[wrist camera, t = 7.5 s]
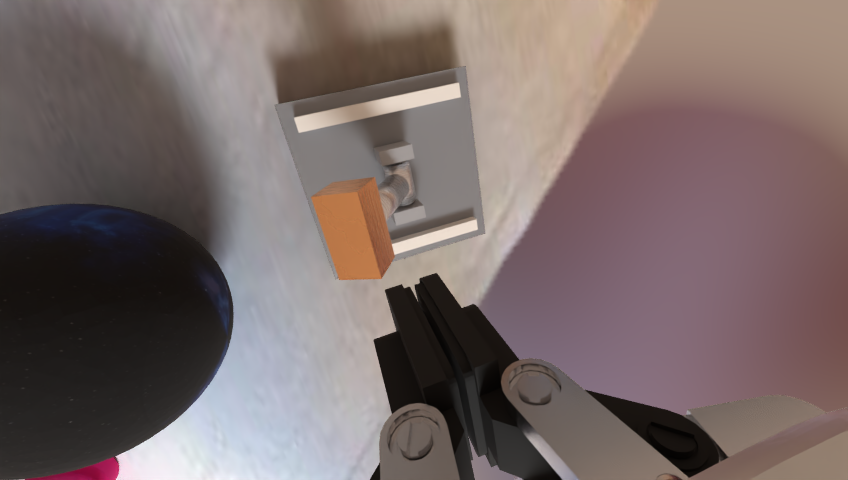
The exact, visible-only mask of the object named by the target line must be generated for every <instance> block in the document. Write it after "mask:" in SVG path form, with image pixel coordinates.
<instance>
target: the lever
mask: <svg viewBox="0 0 848 480" xmlns="http://www.w3.org/2000/svg"><path fill="white" fill-rule="evenodd" d="M383 170H384V174H385V179H384V180H383V181H382V182H381V183H380V184H379V185H378V186H377V183H376V179H375V177H370V178H362V179H354V180H346V181H338V182H332V183H331V184H329V185H328V186H326V187H325V188H323V189H322V190H320V191H319V192H317V193H316V194H314V195H313V196H311V199H312V202H313V205H314V208H315V211H316V214H317V216H318V219H319V222H320V225H321V228H322V231H323V234H324V237H325V240H326V243H327V246H328V248H329V251H330V254H331V257H332V260H333V263H334V266H335V269H336V272H337V275H338V277H339V280H354V279H382V277H383V275H384V274H385V272H386V271H387V269H388V267H389V266H390V264H391V262H392V261H393V259H394V258H395V255H394V251H393V247H392V243H391V239H390V235H389V231H388V227H387V223H386V221H387V220H388V219H389V218H390V216H391V215H392V214H393V213H394V211H395V210H396V209H397V208H398V206H405V205H409V204H412V203H414V202H415V201H416V200H417V197H416V192H415V188H414V183H413V178H412V173H411V168H410V163H409V160H406V161H402V162H398V163H394V164H390V165H386V166H383Z"/></svg>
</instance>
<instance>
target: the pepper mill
mask: <svg viewBox="0 0 848 480" xmlns="http://www.w3.org/2000/svg"><path fill="white" fill-rule="evenodd" d="M118 473H119V465H118V462H117V461H116V460H115V459H114V457H112V458H110V459H107V460H105V461H102V462H99V463H97V464H94V465H91V466H88V467H84V468H81V469H78V470H74V471H70V472H66V473H62V474H57V475H51V476H46V477H40V478H31V479H25V480H116V478H117V476H118Z"/></svg>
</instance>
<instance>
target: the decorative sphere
mask: <svg viewBox="0 0 848 480" xmlns="http://www.w3.org/2000/svg"><path fill="white" fill-rule="evenodd" d="M232 329H233V302H232V296H231V292H230V289H229V285H228V283H227V280H226V278H225V276H224V274H223V272H222V270H221V268H220V267H219V265H218V264H217V262H216V261H215V260H214V258H213V257H212V256H211V254H210V253H209V252H208V251H207V250H206V249H205V248H204V247H203V246H202V245H201V244H200V243H199V242H197V241H196V240H195V239H194V238H192V237H191V236H190V235H188V234H187V233H185V232H184V231H182V230H180V229H179V228H177V227H175V226H173V225H171V224H169V223H167V222H165V221H163V220H161V219H158V218H156V217H153V216H150V215H147V214H144V213H140V212H137V211H133V210H129V209H124V208H119V207H113V206H106V205H95V204H60V205H49V206H40V207H34V208H28V209H22V210H17V211H13V212H9V213H5V214H1V215H0V480H19V479H31V478H40V477H46V476H51V475H57V474H62V473H66V472H70V471H74V470H78V469H81V468H84V467H88V466H91V465H94V464H97V463H99V462H102V461H105V460H107V459H110V458H112V457H115V456H117V455H119V454H121V453H123V452H125V451H128V450H130V449H132V448H134V447H135V446H137V445H139V444H141V443H142V442H144V441H146V440H148V439H149V438H151V437H152V436H154V435H155V434H157V433H158V432H160V431H161V430H163V429H164V428H166V427H167V426H168V425H169V424H171V423H172V422H173V421H175V420H176V419H177V418H178V417H179V416H180V415H182V414H183V413H184V412H185V411H186V410H187V409H188V408H189V407H190V406H191V405H192V404H193V403H194V402H195V401H196V400H197V399H198V398H199V397H200V395H201V394H202V393H203V392H204V390H205V389H206V388H207V386H208V385H209V384H210V382H211V381H212V379H213V378H214V376H215V375H216V373H217V371H218V369H219V367H220V366H221V364H222V362H223V359H224V357H225V355H226V352H227V349H228V347H229V343H230V339H231V335H232Z"/></svg>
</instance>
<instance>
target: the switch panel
mask: <svg viewBox="0 0 848 480" xmlns="http://www.w3.org/2000/svg"><path fill="white" fill-rule="evenodd" d="M275 108H276V111H277V114H278V117H279V120H280V123H281V125H282V128H283V131H284V134H285V137H286V140H287V143H288V146H289V148H290V151H291V154H292V157H293V160H294V163H295V166H296V168H297V171H298V174H299V177H300V180H301V183H302V186H303V188H304V191H305V194H306V197H307V200H308V203H309V206H310V208H311V211H312V214H313V217H314V220H315V223H316V226H317V228H318V231H319V234H320V237H321V240H322V243H323V246H324V248H325V251H326V254H327V257H328V260H329V263H330V266H331V268H332V271H333V274H334V277H335V279H338V278H339V277H338V275H337V272H336V269H335V266H334V263H333V260H332V257H331V254H330V251H329V248H328V246H327V243H326V240H325V237H324V234H323V231H322V228H321V225H320V222H319V219H318V216H317V214H316V211H315V208H314V205H313V202H312V199H311V196H313V195H314V194H316V193H317V192H319V191H320V190H322V189H323V188H325V187H326V186H328V185H329V184H331V183H332V182H338V181H346V180H354V179H362V178H370V177H375V179H376V183H377V186H378V185H379V184H380V183H381V182H382V181H383V180H384V179H385V174H384V170H383V166H386V165H390V164H394V163H398V162H402V161H406V160H409V163H410V168H411V173H412V178H413V183H414V188H415V192H416V197H417V200H416V201H415V202H414V203H412V204H409V205H405V206H398V208H397V209H396V210H395V211H394V213H393V214H392V215H391V216H390V218H389V219H388V220H387V221H386V223H387V227H388V231H389V235H390V239H391V243H392V247H393V251H394V255H395V258H394V259H393V261H397V260H400V259H403V258H406V257H410V256H413V255H416V254H419V253H423V252H426V251H429V250H433V249H436V248H439V247H442V246H446V245H449V244H452V243H456V242H459V241H462V240H465V239H469V238H472V237H475V236H478V235H482V234H485V226H484V218H483V209H482V201H481V193H480V184H479V176H478V167H477V159H476V150H475V142H474V133H473V125H472V116H471V108H470V99H469V91H468V82H467V74H466V66H463V67H458V68H453V69H448V70H443V71H438V72H434V73H429V74H424V75H419V76H414V77H409V78H404V79H399V80H394V81H389V82H384V83H380V84H375V85H370V86H365V87H360V88H355V89H350V90H345V91H340V92H335V93H330V94H326V95H321V96H316V97H311V98H306V99H301V100H296V101H291V102H286V103H281V104H276V105H275ZM393 261H392V262H393Z"/></svg>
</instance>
